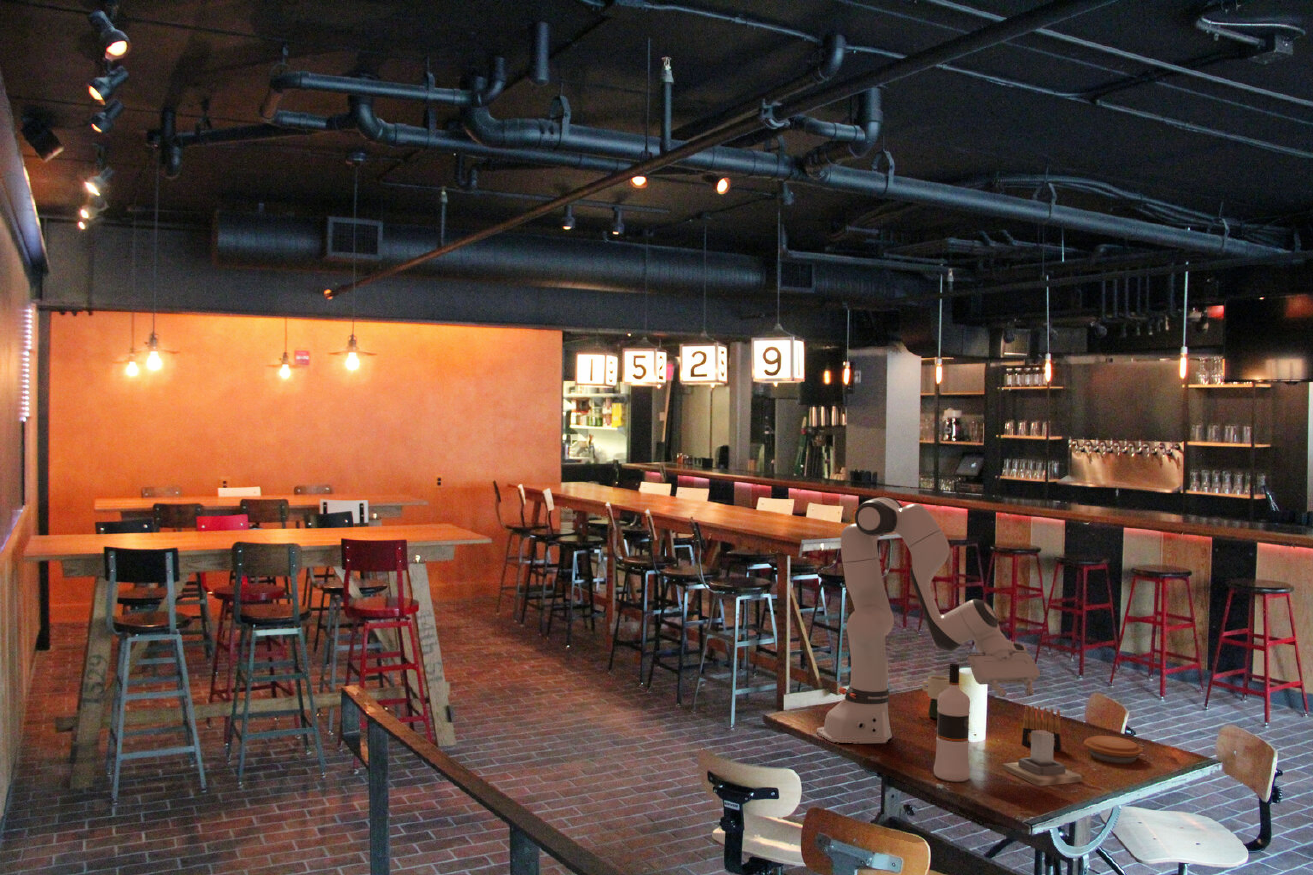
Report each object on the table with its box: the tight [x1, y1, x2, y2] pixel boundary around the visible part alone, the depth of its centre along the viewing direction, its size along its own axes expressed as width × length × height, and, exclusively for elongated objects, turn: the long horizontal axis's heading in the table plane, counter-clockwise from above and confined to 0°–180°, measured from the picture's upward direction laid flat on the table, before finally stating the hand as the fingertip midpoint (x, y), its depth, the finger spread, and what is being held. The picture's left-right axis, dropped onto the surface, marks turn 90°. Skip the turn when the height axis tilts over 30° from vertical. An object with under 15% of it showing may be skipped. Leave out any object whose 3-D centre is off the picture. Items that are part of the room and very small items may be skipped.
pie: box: [1083, 735, 1144, 765], centre depth 285 cm, size 16×16×5 cm
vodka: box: [933, 662, 971, 783], centre depth 264 cm, size 9×9×30 cm
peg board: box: [1002, 756, 1083, 787], centre depth 267 cm, size 14×14×4 cm
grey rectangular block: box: [1030, 730, 1055, 767], centre depth 267 cm, size 4×4×10 cm
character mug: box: [922, 675, 949, 720], centre depth 322 cm, size 11×7×13 cm, turn 57°
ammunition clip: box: [1021, 704, 1062, 752], centre depth 293 cm, size 11×2×12 cm, turn 58°
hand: (1017, 695), depth 277 cm, fingers open, 8 cm apart
